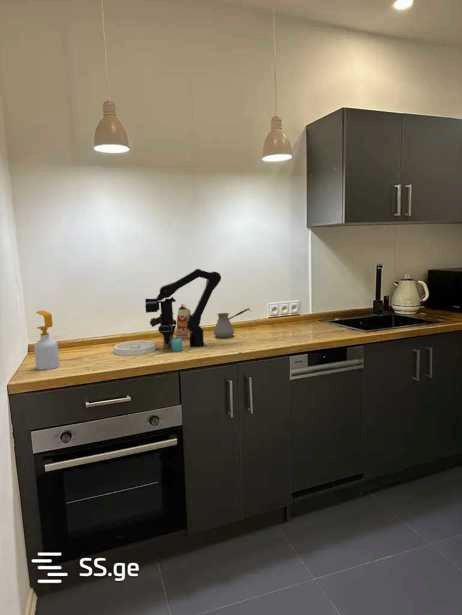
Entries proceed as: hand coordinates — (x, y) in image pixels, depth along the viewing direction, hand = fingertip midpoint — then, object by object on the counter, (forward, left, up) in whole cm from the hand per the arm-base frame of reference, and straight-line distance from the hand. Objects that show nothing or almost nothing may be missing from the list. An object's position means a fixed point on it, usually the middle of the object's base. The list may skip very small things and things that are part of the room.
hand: (168, 342), depth 201 cm
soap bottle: (+48, +28, -3) cm, 56 cm away
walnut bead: (0, 0, -3) cm, 3 cm away
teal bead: (-5, +7, -3) cm, 9 cm away
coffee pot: (-32, -23, -3) cm, 39 cm away
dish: (+16, +3, -3) cm, 17 cm away
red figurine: (-6, -19, -3) cm, 20 cm away
